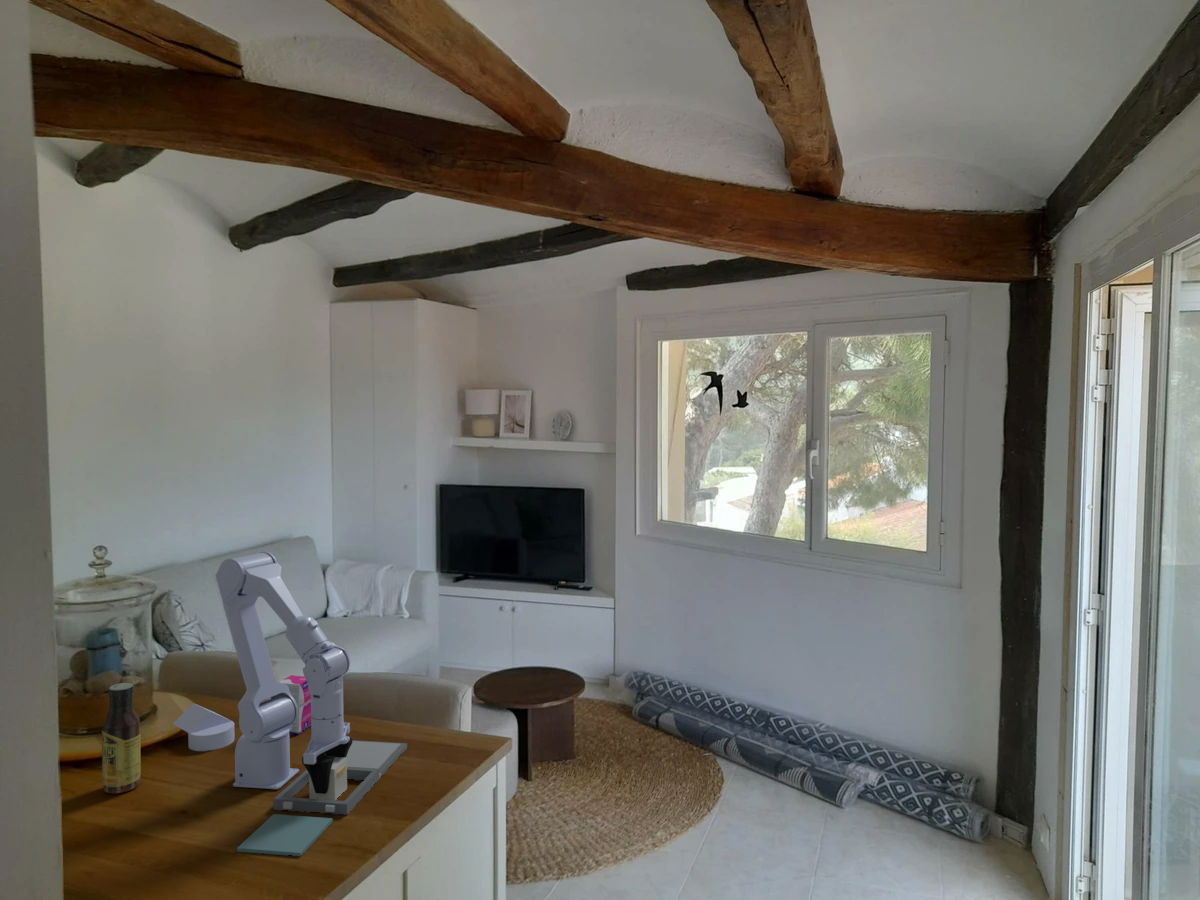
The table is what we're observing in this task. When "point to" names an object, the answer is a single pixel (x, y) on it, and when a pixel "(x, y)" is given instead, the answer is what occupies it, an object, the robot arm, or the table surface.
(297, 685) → the supplement box
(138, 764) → the sauce bottle
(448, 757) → the table surface
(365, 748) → the case
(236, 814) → the table surface
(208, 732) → the wedge on round base
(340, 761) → the block
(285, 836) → the mat
